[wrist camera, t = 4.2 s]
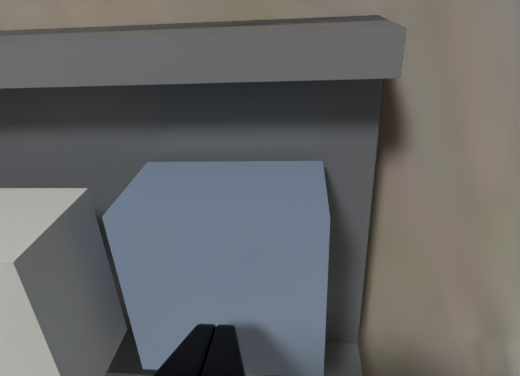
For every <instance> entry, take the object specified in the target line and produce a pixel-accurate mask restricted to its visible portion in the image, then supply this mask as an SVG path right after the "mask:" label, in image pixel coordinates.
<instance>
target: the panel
mask: <svg viewBox="0 0 520 376" xmlns="http://www.w3.org/2000/svg"><path fill="white" fill-rule="evenodd" d="M405 34H406V28H405V27H403V26H401V25H399V24H396V23H394V22H392V21H390V20H387V19H385V18H383V17H381V16H379V15H374V16H350V17H326V18H301V19H277V20H253V21H229V22H204V23H180V24H156V25H132V26H107V27H83V28H59V29H35V30H10V31H0V188H88V190H89V193H90V197H91V201H92V204H93V208H94V211H95V215H96V219H97V222H98V226H99V229H100V233H101V237H102V240H103V244H104V247H105V251H106V255H107V258H108V262H109V266H110V269H111V273H112V276H113V280H114V284H115V287H116V291H117V294H118V298H119V302H120V305H121V309H122V312H123V316H124V320H125V323H126V327H127V331H126V333H125V335H124V337H123V339H122V341H121V343H120V345H119V348H118V350H117V352H116V354H115V356H114V358H113V360H112V362H111V364H110V366H109V368H108V370H107V372H106V374H105V376H153V375H154V373H155V372H156V371H157V370H152V369H143V368H142V364H141V360H140V356H139V353H138V349H137V345H136V342H135V338H134V334H133V330H132V327H131V323H130V319H129V316H128V312H127V308H126V304H125V301H124V297H123V293H122V290H121V286H120V282H119V278H118V275H117V271H116V267H115V264H114V260H113V256H112V252H111V249H110V245H109V241H108V238H107V234H106V230H105V226H104V223H103V219H102V216H103V215H104V214H105V213H106V211H107V210H108V209H109V208H110V207H111V205H112V204H113V203H114V202H115V201H116V199H117V198H118V197H119V196H120V195H121V193H122V192H123V191H124V190H125V189H126V187H127V186H128V185H129V184H130V183H131V181H132V180H133V179H134V178H135V177H136V175H137V174H138V173H139V172H140V170H141V169H142V168H143V167H144V166H145V164H146V163H147V162H221V161H323V166H324V174H325V182H326V189H327V197H328V205H329V212H330V238H329V261H328V284H327V307H326V330H325V353H324V376H363V373H362V367H361V361H360V355H359V348H358V335H359V325H360V315H361V305H362V295H363V284H364V274H365V264H366V254H367V243H368V233H369V223H370V213H371V203H372V192H373V182H374V172H375V162H376V151H377V141H378V131H379V121H380V110H381V100H382V90H383V80H384V79H389V78H400V77H401V68H402V60H403V51H404V43H405ZM245 375H246V376H280V375H259V374H245Z"/></svg>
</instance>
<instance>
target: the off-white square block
mask: <svg viewBox="0 0 520 376" xmlns="http://www.w3.org/2000/svg"><path fill="white" fill-rule="evenodd" d="M126 331H127V327H126V323H125V320H124V316H123V312H122V309H121V305H120V302H119V298H118V294H117V291H116V287H115V284H114V280H113V276H112V273H111V269H110V266H109V262H108V258H107V255H106V251H105V247H104V244H103V240H102V237H101V233H100V229H99V226H98V222H97V219H96V215H95V211H94V208H93V204H92V201H91V197H90V193H89V190H88V188H0V376H105V374H106V372H107V370H108V368H109V366H110V364H111V362H112V360H113V358H114V356H115V354H116V352H117V350H118V348H119V345H120V343H121V341H122V339H123V337H124V335H125V333H126Z"/></svg>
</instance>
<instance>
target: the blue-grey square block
mask: <svg viewBox="0 0 520 376" xmlns="http://www.w3.org/2000/svg"><path fill="white" fill-rule="evenodd" d="M102 219H103V223H104V226H105V230H106V234H107V238H108V241H109V245H110V249H111V252H112V256H113V260H114V264H115V267H116V271H117V275H118V278H119V282H120V286H121V290H122V293H123V297H124V301H125V304H126V308H127V312H128V316H129V319H130V323H131V327H132V330H133V334H134V338H135V342H136V345H137V349H138V353H139V356H140V360H141V364H142V368H143V369H152V370H158V369H159V368H160V367H161V365H162V364H163V363H164V362H165V361H166V360H167V358H168V357H169V356H170V355H171V354H172V353H173V352H174V350H175V349H176V348H177V347H178V346H179V345H180V343H181V342H182V341H183V340H184V339H185V338H186V337H187V335H188V334H189V333H190V332H191V331H192V330H193V329H194V327H195V326H196V325H198V324H215V325H216V326H217V325H219V324H228V325H234V326H235V328H236V332H237V337H238V341H239V346H240V351H241V356H242V360H243V365H244V370H245V374H259V375H280V376H324V353H325V330H326V307H327V284H328V261H329V238H330V212H329V205H328V197H327V189H326V182H325V174H324V166H323V161H221V162H147V163H146V164H145V166H144V167H143V168H142V169H141V170H140V172H139V173H138V174H137V175H136V177H135V178H134V179H133V180H132V181H131V183H130V184H129V185H128V186H127V187H126V189H125V190H124V191H123V192H122V193H121V195H120V196H119V197H118V198H117V199H116V201H115V202H114V203H113V204H112V205H111V207H110V208H109V209H108V210H107V211H106V213H105V214H104V215H103V216H102Z"/></svg>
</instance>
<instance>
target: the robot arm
mask: <svg viewBox="0 0 520 376" xmlns="http://www.w3.org/2000/svg"><path fill="white" fill-rule="evenodd" d="M153 376H246V375H245V370H244V365H243V360H242V356H241V351H240V346H239V341H238V337H237V332H236V328H235V326H234V325H228V324H219V325H217V326H216V325H215V324H198V325H196V326H195V327H194V329H193V330H192V331H191V332H190V333H189V334H188V335H187V337H186V338H185V339H184V340H183V341H182V342H181V343H180V345H179V346H178V347H177V348H176V349H175V350H174V352H173V353H172V354H171V355H170V356H169V357H168V358H167V360H166V361H165V362H164V363H163V364H162V365H161V367H160V368H159V369H158V370H157V371H156V372H155V373H154V375H153Z"/></svg>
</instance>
